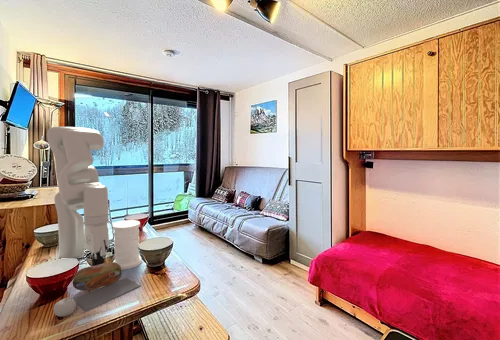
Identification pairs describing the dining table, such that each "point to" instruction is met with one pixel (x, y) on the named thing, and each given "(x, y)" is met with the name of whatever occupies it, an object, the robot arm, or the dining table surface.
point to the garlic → (64, 307)
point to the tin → (97, 276)
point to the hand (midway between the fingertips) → (98, 267)
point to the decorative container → (127, 244)
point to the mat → (105, 293)
